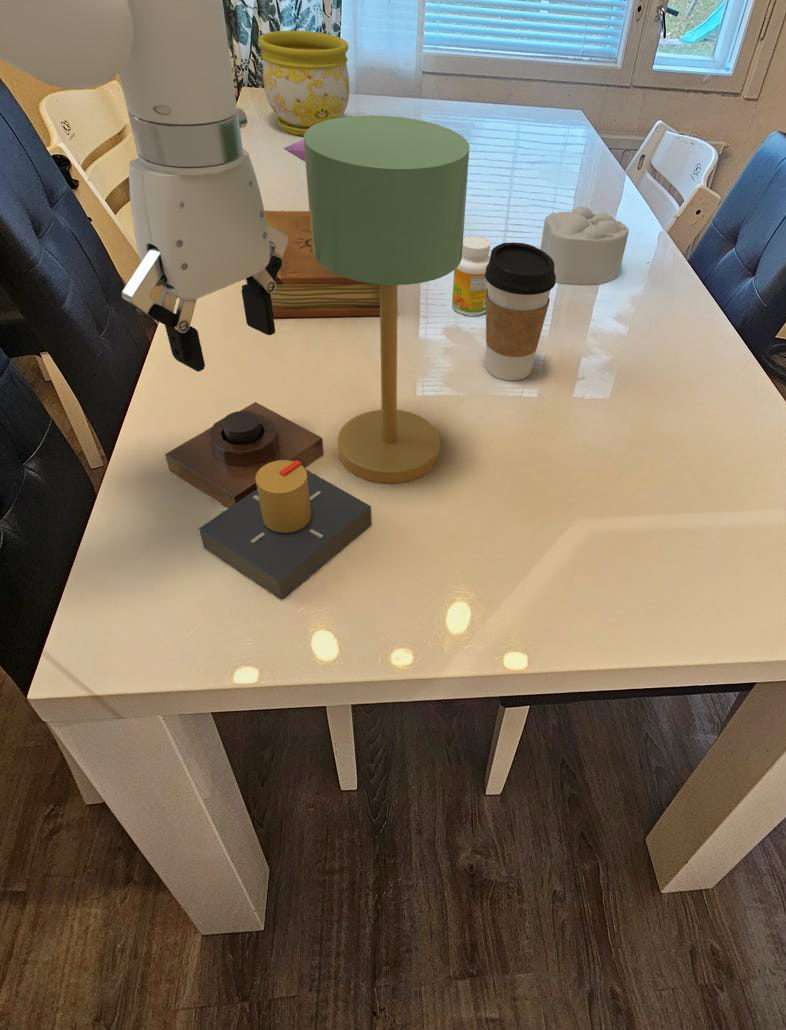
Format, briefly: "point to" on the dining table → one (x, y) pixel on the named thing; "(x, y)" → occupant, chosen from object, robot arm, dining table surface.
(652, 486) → the dining table surface
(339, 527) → the dimmer panel
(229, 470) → the switch block
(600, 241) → the lumpy-topped squat cylinder
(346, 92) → the flowerpot
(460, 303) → the supplement bottle
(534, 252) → the coffee cup
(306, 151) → the lamp
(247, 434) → the power button
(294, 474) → the dimmer knob
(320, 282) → the diary
